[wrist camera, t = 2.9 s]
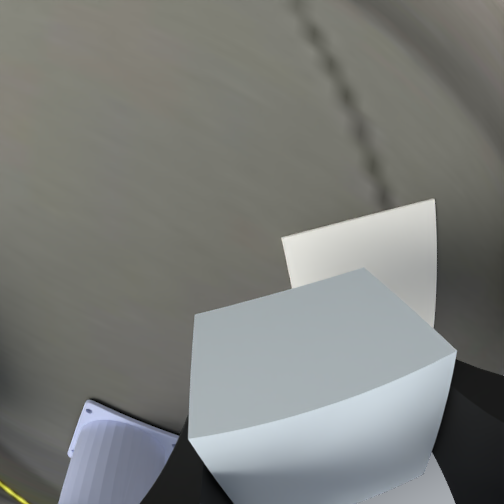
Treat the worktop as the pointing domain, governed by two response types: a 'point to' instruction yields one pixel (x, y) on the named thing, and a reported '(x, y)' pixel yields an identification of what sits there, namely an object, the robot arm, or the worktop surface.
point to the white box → (317, 393)
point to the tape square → (374, 253)
